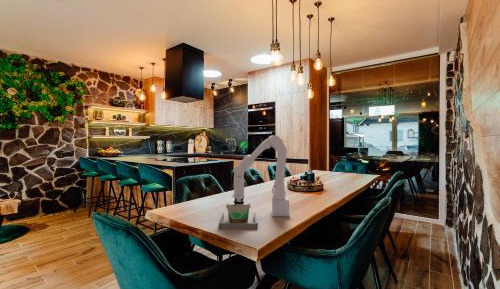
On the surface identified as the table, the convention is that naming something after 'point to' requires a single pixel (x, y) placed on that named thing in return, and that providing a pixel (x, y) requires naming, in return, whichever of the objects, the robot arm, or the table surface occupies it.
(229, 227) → the dock
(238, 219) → the food container
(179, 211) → the table surface
